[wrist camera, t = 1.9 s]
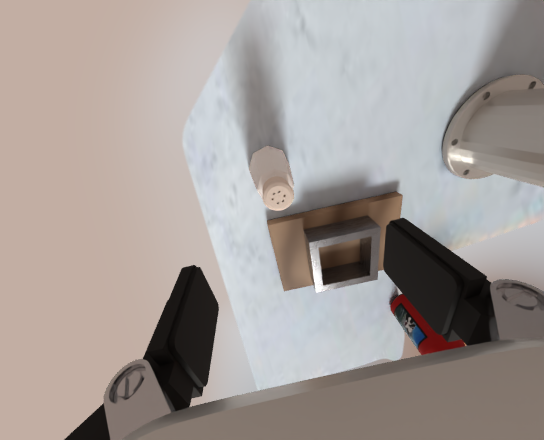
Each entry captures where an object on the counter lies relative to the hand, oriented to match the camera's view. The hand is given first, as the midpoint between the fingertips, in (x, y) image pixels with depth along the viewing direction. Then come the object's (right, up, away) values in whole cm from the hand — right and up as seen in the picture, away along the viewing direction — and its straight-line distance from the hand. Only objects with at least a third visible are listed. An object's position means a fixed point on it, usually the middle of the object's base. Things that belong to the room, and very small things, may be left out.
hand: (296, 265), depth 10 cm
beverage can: (+27, -15, +34) cm, 45 cm away
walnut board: (+9, -2, +24) cm, 26 cm away
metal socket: (+9, -2, +23) cm, 25 cm away
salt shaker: (-2, +10, +18) cm, 20 cm away
